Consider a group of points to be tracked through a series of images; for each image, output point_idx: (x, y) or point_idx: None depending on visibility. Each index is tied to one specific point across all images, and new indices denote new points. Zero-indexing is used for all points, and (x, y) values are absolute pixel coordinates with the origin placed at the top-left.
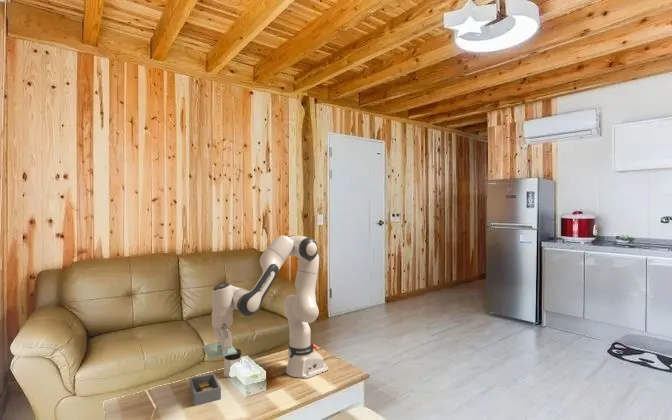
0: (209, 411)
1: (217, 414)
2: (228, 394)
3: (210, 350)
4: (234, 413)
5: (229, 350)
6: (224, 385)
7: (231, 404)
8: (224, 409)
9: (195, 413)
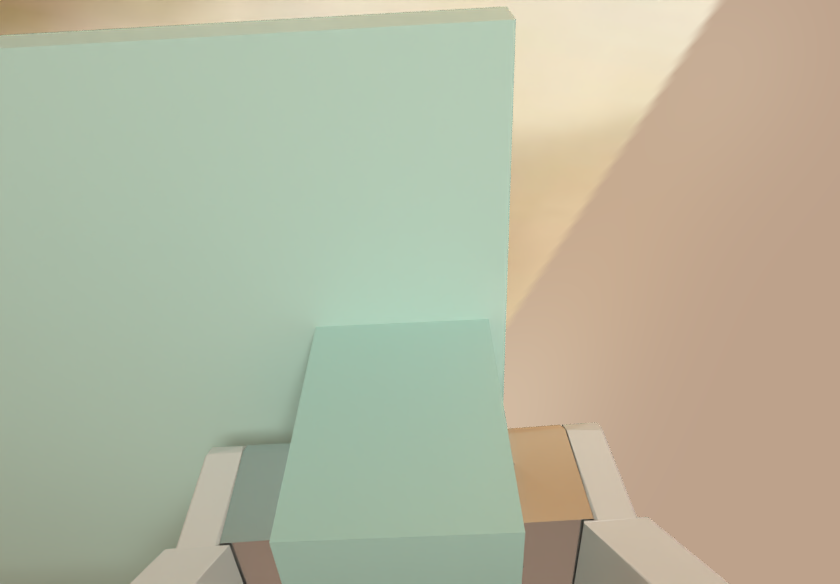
0: (535, 212)
1: (614, 160)
2: (316, 5)
3: (108, 577)
4: (692, 13)
5: (277, 242)
6: (100, 13)
7: (524, 11)
8: (573, 92)
9: (508, 302)
